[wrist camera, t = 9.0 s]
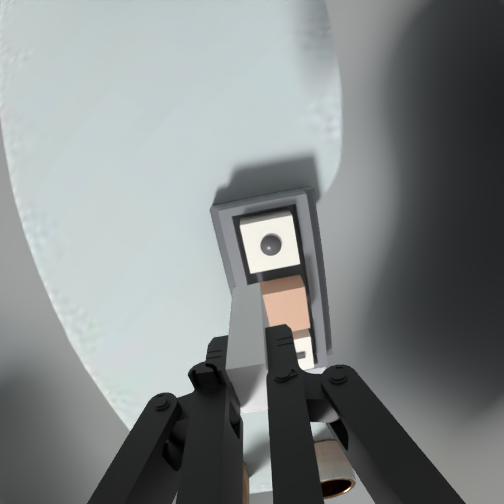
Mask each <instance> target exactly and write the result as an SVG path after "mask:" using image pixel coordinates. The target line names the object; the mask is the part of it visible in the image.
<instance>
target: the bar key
mask: <svg viewBox="0 0 504 504" xmlns="http://www.w3.org/2000/svg"><path fill="white" fill-rule="evenodd" d="M292 334H293V339H294V344H295V349H296V354H297V359H298V364H299V366H300V368H301V369H302V370H306V369H311V368H314V362H313V353H312V345H311V337H310V333H309V330H308V328H307V329H303V330H298V331H293V332H292Z"/></svg>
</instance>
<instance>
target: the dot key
mask: <svg viewBox="0 0 504 504" xmlns="http://www.w3.org/2000/svg"><path fill="white" fill-rule="evenodd" d="M240 229H241V234H242V238H243V243H244V247H245V252H246V256H247V261H248V265H249V269H250V274H251V273H256V272H262V271H267V270H272V269H277V268H282V267H287V266H292V265H297V264H300V260H299V254H298V247H297V241H296V235H295V229H294V223H293V218H292V214H291V213H290V211H289V209H284V210H279V211H274V212H269V213H264V214H259V215H254V216H249V217H244V218H240Z"/></svg>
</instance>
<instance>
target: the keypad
mask: <svg viewBox="0 0 504 504" xmlns="http://www.w3.org/2000/svg"><path fill="white" fill-rule="evenodd" d="M284 209H289V211H290V213H291V214H292V218H293V223H294V229H295V235H296V241H297V247H298V254H299V260H300V264H297V265H292V266H287V267H282V268H277V269H272V270H267V271H262V272H256V273H251V274H250V269H249V265H248V261H247V256H246V252H245V247H244V243H243V238H242V234H241V229H240V218H244V217H249V216H254V215H259V214H264V213H269V212H274V211H279V210H284ZM210 213H211V217H212V222H213V226H214V230H215V234H216V238H217V242H218V246H219V250H220V254H221V258H222V261H223V265H224V269H225V273H226V277H227V281H228V285H229V288H230V292H231V296H232V293H233V288H236V287H241V286H246V285H251V284H254V283H259V282H264V281H269V280H275V279H280V278H285V277H290V276H295V275H300V276H301V278H302V281H303V284H304V286H305V292H306V299H307V307H308V314H309V322H310V328H308V330H309V333H310V337H311V345H312V353H313V362H314V368H311V369H315V368H320V367H324V366H327V356H328V355H332V343H331V329H330V319H329V307H328V297H327V288H326V278H325V270H324V261H323V253H322V245H321V238H320V231H319V224H318V217H317V210H316V204H315V197H314V191H313V188H311V187H310V186H309V187H303V188H298V189H292V190H287V191H281V192H276V193H271V194H266V195H261V196H256V197H251V198H246V199H241V200H236V201H231V202H227V203H222V204H217V205H213V206H211V208H210ZM306 370H310V369H306ZM304 371H305V370H304Z"/></svg>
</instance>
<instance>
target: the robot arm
mask: <svg viewBox="0 0 504 504" xmlns="http://www.w3.org/2000/svg"><path fill="white" fill-rule="evenodd" d="M188 376H189V378H190V380H191V382H192V384H193V386H194V388H195V390H194V391H193V392H192V393H190V394H188V395H185V396H182V397H179V398H176V396H174V395H173V394H171V393H160V394H157V395H156V396H154V397H152V398H151V400H150V401H149V402H148V404H147V405H146V407H145V408H144V410H143V412H142V413H141V415H140V417H139V418H138V420H137V422H136V423H135V425H134V427H133V428H132V430H131V431H130V433H129V435H128V436H127V438H126V440H125V441H124V443H123V445H122V446H121V448H120V450H119V451H118V453H117V455H116V457H115V458H114V460H113V461H112V463H111V465H110V466H109V468H108V470H107V471H106V473H105V475H104V476H103V478H102V480H101V481H100V483H99V485H98V486H97V488H96V490H95V491H94V493H93V495H92V496H91V498H90V500H89V501H88V503H87V504H172V502H173V500H174V498H175V495H176V493H177V491H178V493H177V499H176V504H243V421H242V418H241V416H240V407H241V409H242V412H243V413H248V412H256V411H262V410H268V420H269V436H270V453H271V469H272V487H273V504H324V499H323V493H322V487H321V481H320V476H319V470H318V464H317V458H316V453H315V447H314V442H313V436H312V431H311V425H310V422H326V424H327V426H328V428H329V429H330V431H331V433H332V434H333V436H334V438H335V439H336V441H337V443H338V444H339V446H340V447H341V449H342V451H343V452H344V454H345V456H346V457H347V459H348V461H349V462H350V464H351V465H352V467H353V469H354V470H355V471H356V473H357V475H358V477H359V478H360V480H361V482H362V483H363V485H364V486H365V488H366V489H367V491H368V493H369V494H370V496H371V497H372V499H373V500H374V502H375V504H466V503H465V502H464V501H463V500H462V499H461V498H460V496H459V495H458V494H457V493H456V491H455V490H454V489H453V488H452V487H451V485H450V484H449V483H448V482H447V480H446V479H445V478H444V477H443V476H442V474H441V473H440V472H439V471H438V470H437V468H436V467H435V466H434V465H433V464H432V462H431V461H430V460H429V459H428V458H427V457H426V455H425V454H424V453H423V452H422V451H421V449H420V448H419V447H418V446H417V444H416V443H415V442H414V441H413V440H412V438H411V437H410V436H409V435H408V434H407V432H406V431H405V430H404V429H403V428H402V426H401V425H400V424H399V423H398V422H397V420H396V419H395V418H394V417H393V416H392V414H391V413H390V412H389V411H388V410H387V408H386V407H385V406H384V405H383V404H382V402H381V401H380V400H379V399H378V398H377V396H376V395H375V394H374V393H373V392H372V391H371V390H370V388H369V387H368V386H367V385H366V383H365V382H364V381H363V380H362V378H360V376H359V375H358V374H357V372H356V371H355V370H354V369H353V368H351V367H350V366H347V365H335V366H331V367H329V368H327V369H326V370H325V371H324V372H323V373H322V374H311V373H308V372H305V371H304V370H302V369H301V368H300V366H299V364H298V359H297V354H296V349H295V344H294V339H293V334H292V330H291V328H290V327H289V326H288V325H287V324H282V325H277V326H272V327H270V325H269V320H268V315H267V311H266V307H265V303H264V299H263V295H262V291H261V286H260V283H256V284H251V285H246V286H241V287H236V288H233V293H232V303H231V314H230V325H229V335H227V336H221V337H215V338H213V339H212V340H211V342H210V343H209V345H208V349H207V355H206V361H205V362H201V363H199V364H197V365H195V366H193V367H192V368H191V369H190V371H189V373H188Z"/></svg>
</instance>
